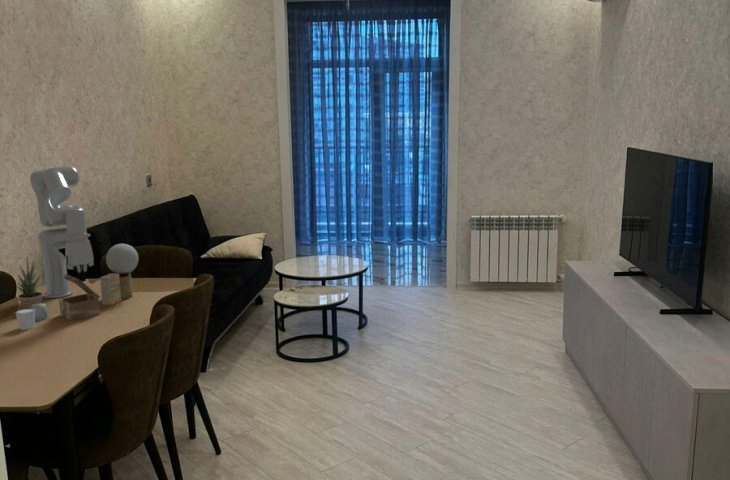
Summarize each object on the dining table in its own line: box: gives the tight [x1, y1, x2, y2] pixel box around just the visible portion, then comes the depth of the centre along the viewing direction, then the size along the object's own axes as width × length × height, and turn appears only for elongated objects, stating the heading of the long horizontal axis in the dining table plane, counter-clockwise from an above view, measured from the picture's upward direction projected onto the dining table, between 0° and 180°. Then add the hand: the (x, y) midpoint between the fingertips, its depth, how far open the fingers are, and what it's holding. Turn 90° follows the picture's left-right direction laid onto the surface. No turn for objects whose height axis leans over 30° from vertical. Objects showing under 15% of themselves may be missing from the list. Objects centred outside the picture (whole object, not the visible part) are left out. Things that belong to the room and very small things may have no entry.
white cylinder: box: [15, 308, 36, 331], centre depth 269 cm, size 7×7×7 cm
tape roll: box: [31, 302, 49, 322], centre depth 281 cm, size 6×6×6 cm
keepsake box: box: [58, 293, 101, 321], centre depth 286 cm, size 12×12×7 cm
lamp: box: [105, 243, 139, 301], centre depth 312 cm, size 15×14×25 cm
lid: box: [63, 273, 101, 299], centre depth 285 cm, size 12×13×2 cm
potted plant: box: [16, 257, 44, 310], centre depth 292 cm, size 10×10×25 cm
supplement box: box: [99, 272, 122, 307], centre depth 302 cm, size 8×5×13 cm, turn 168°
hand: (82, 280), depth 282 cm, fingers closed
